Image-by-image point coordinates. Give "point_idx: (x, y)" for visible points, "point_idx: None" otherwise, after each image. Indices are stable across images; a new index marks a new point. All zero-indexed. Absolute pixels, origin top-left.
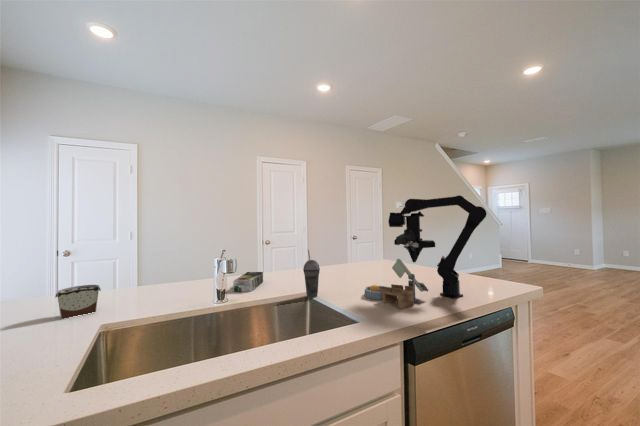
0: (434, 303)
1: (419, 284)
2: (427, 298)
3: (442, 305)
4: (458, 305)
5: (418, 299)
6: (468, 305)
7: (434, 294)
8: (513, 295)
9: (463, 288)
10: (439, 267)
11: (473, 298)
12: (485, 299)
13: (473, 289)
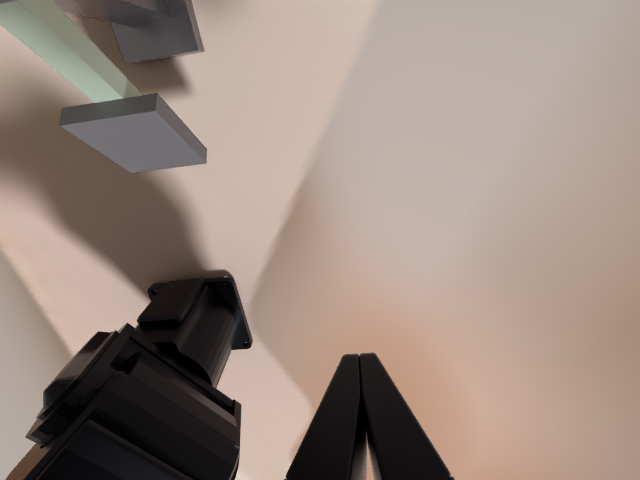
0: None
1: (93, 99)
2: None
3: (42, 146)
4: (40, 224)
5: (125, 52)
6: (39, 264)
7: (251, 259)
8: None
9: (291, 427)
10: (78, 416)
11: None
12: None
13: (262, 442)
